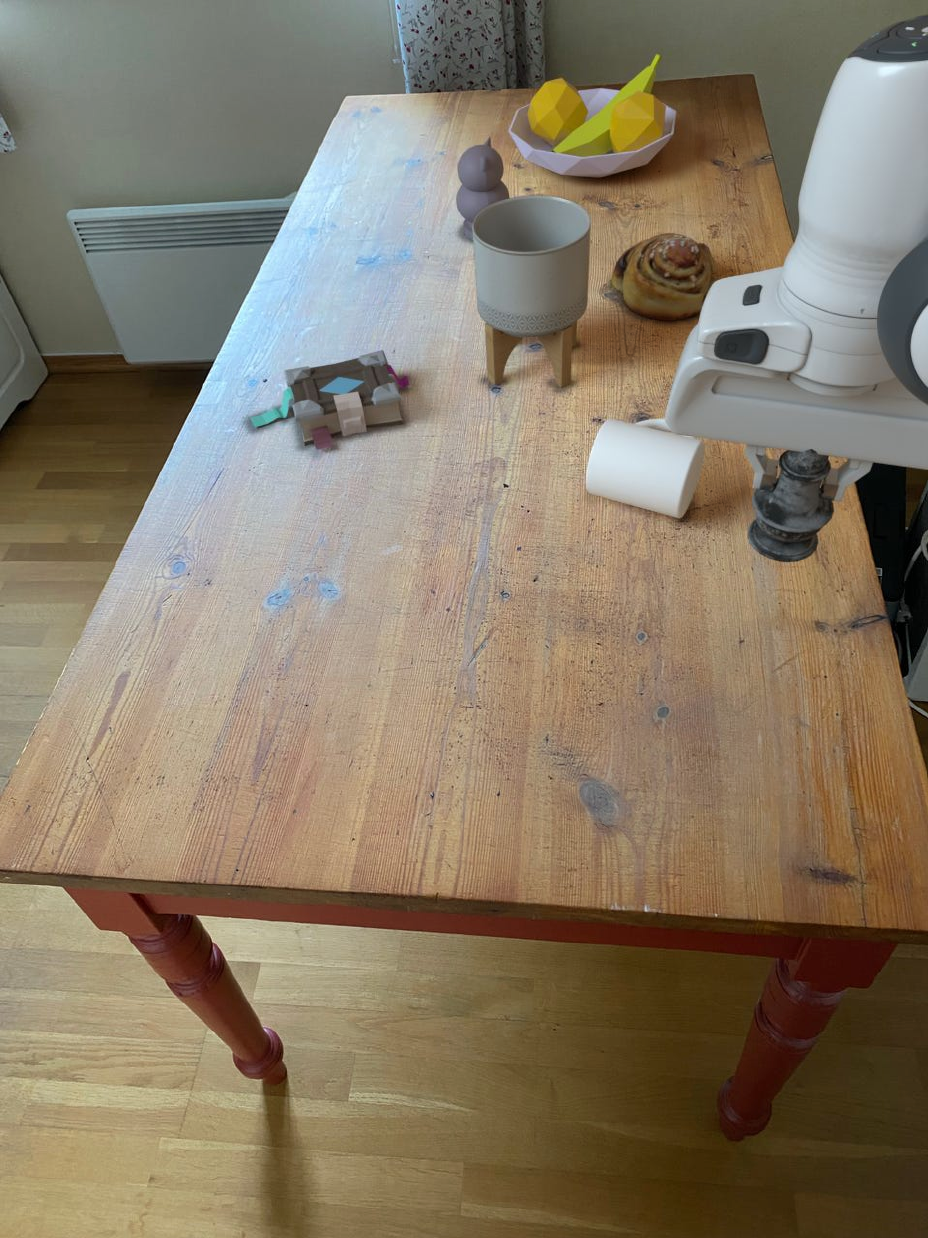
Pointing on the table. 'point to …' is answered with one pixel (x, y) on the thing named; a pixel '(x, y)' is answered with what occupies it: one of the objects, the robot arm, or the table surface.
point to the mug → (645, 466)
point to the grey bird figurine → (479, 183)
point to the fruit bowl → (593, 127)
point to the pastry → (665, 276)
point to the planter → (531, 277)
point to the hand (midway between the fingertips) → (795, 489)
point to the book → (340, 398)
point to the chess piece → (791, 508)
